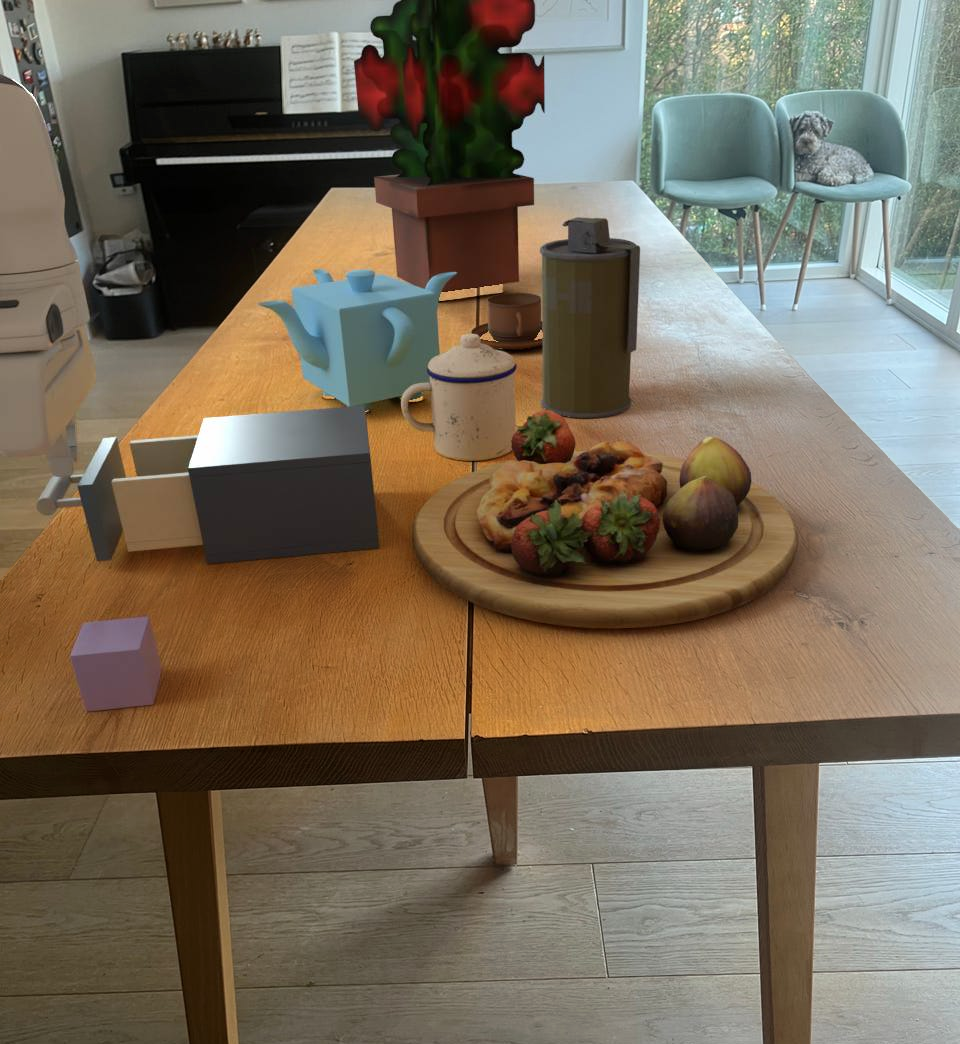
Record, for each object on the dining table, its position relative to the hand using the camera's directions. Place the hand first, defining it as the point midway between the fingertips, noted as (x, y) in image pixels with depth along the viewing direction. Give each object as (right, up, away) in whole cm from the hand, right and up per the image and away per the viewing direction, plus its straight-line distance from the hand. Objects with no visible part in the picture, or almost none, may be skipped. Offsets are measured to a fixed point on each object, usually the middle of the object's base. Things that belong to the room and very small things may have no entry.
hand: (67, 470), depth 87 cm
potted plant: (+31, +44, +85) cm, 101 cm away
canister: (+48, +13, +32) cm, 59 cm away
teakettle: (+21, +15, +38) cm, 46 cm away
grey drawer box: (+18, -4, +5) cm, 20 cm away
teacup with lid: (+33, +6, +21) cm, 40 cm away
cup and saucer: (+40, +26, +55) cm, 73 cm away
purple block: (+11, -18, -17) cm, 27 cm away
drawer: (+7, -4, +4) cm, 9 cm away
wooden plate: (+45, -6, 0) cm, 46 cm away
